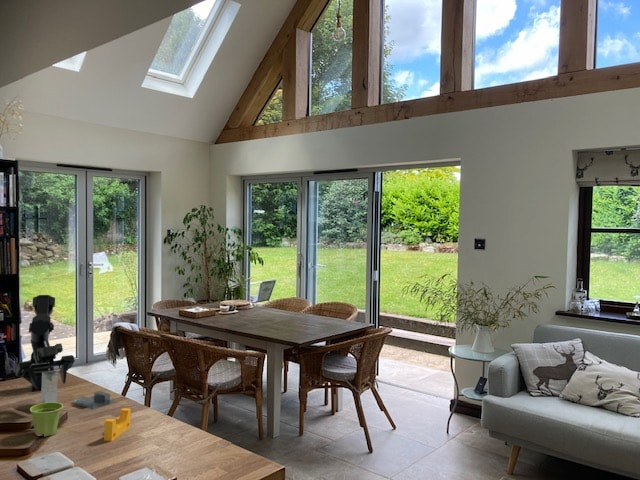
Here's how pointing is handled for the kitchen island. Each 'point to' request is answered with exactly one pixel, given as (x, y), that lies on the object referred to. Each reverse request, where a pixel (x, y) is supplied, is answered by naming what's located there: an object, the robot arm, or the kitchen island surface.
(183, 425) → the kitchen island surface
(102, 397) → the vise
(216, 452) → the kitchen island surface
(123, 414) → the pipe clamp
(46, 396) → the grey upright block
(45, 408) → the plant pot
